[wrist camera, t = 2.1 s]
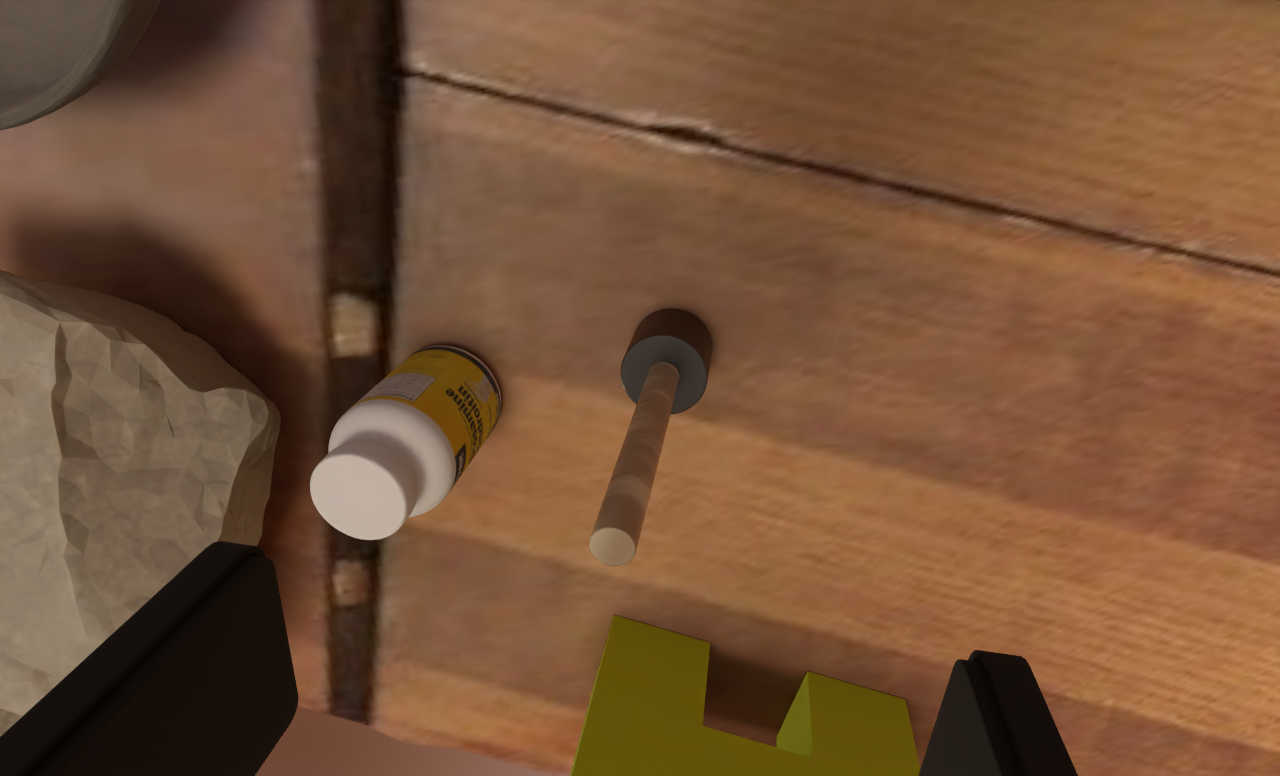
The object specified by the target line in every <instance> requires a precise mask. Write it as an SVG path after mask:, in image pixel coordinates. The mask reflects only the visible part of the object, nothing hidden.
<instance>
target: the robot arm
mask: <svg viewBox="0 0 1280 776" xmlns="http://www.w3.org/2000/svg"><path fill="white" fill-rule="evenodd" d="M297 705H298V691H297V686H296V680H295V675H294V670H293V664H292V659H291V653H290V648H289V643H288V637H287V632H286V626H285V621H284V615H283V610H282V605H281V599H280V594H279V588H278V583H277V577H276V572H275V567H274V564H273V562H272V561H271V560H270V559H267V558H266V557H265V554H264V551H263V550H262V549H261V548H260V547H257V546H252V545H245V544H238V543H232V542H225V541H217V542H213V543H212V544H210V545H209V546H208V547H206V548H205V549H204V550H203V551H202V552H201V553H200V554H199V555H198V556H197V557H195V558H194V559H193V560H192V561H191V562H190V563H189V564H188V565H187V566H186V567H185V568H183V569H182V570H181V571H180V572H179V573H178V574H177V575H176V576H175V577H174V578H173V579H172V580H170V581H169V582H168V583H167V584H166V585H165V586H164V587H163V588H162V589H161V590H160V591H158V592H157V593H156V594H155V595H154V596H153V597H152V598H151V599H150V600H149V601H148V602H146V603H145V604H144V605H143V606H142V607H141V608H140V609H139V610H138V611H137V612H136V613H134V614H133V615H132V616H131V617H130V618H129V619H128V620H127V621H126V622H125V623H124V624H123V625H121V626H120V627H119V628H118V629H117V630H116V631H115V632H114V633H113V634H112V635H111V636H109V637H108V638H107V639H106V640H105V641H104V642H103V643H102V644H101V645H100V646H99V647H97V648H96V649H95V650H94V651H93V652H92V653H91V654H90V655H89V656H88V657H87V658H86V659H84V660H83V661H82V662H81V663H80V664H79V665H78V666H77V667H76V668H75V669H74V670H72V671H71V672H70V673H69V674H68V675H67V676H66V677H65V678H64V679H63V680H62V681H60V682H59V683H58V684H57V685H56V686H55V687H54V688H53V689H52V690H51V691H50V692H49V693H47V694H46V695H45V696H44V697H43V698H42V699H41V700H40V701H39V702H38V703H37V704H35V705H34V706H33V707H32V708H31V709H30V710H29V711H28V712H27V713H26V714H25V715H23V716H22V717H21V718H20V719H19V720H18V721H17V722H16V723H15V724H14V725H13V726H12V727H10V728H9V729H8V730H7V731H6V732H5V733H4V734H3V735H2V736H1V737H0V776H255V774H256V773H257V772H258V770H259V769H260V767H261V765H262V764H263V763H264V761H265V760H266V758H267V757H268V755H269V754H270V753H271V751H272V750H273V748H274V747H275V745H276V744H277V742H278V741H279V739H280V738H281V736H282V735H283V734H284V732H285V731H286V729H287V728H288V726H289V725H290V723H291V721H292V720H293V717H294V715H295V712H296V708H297ZM919 776H1078V775H1077V773H1076V770H1075V768H1074V766H1073V764H1072V761H1071V759H1070V757H1069V754H1068V752H1067V750H1066V748H1065V745H1064V743H1063V741H1062V738H1061V736H1060V734H1059V732H1058V729H1057V727H1056V725H1055V723H1054V720H1053V718H1052V716H1051V713H1050V711H1049V709H1048V707H1047V704H1046V702H1045V700H1044V697H1043V695H1042V693H1041V691H1040V688H1039V686H1038V684H1037V682H1036V679H1035V677H1034V675H1033V672H1032V670H1031V668H1030V666H1029V664H1028V662H1027V661H1026V659H1024V658H1023V657H1022V656H1015V655H1008V654H1001V653H994V652H987V651H980V650H975V651H974V652H973V653H972V654H971V655H970V657H969V660H961V659H960V660H957V661H956V662H955V665H954V667H953V670H952V673H951V676H950V679H949V682H948V686H947V689H946V692H945V695H944V698H943V701H942V704H941V707H940V710H939V714H938V717H937V720H936V723H935V726H934V729H933V732H932V735H931V738H930V742H929V745H928V748H927V751H926V754H925V757H924V760H923V763H922V766H921V770H920V773H919Z"/></svg>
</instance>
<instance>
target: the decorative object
mask: <svg viewBox="0 0 1280 776" xmlns="http://www.w3.org/2000/svg"><path fill="white" fill-rule="evenodd" d="M709 651H710V643H709V642H706V641H702V640H699V639H695V638H692V637H688V636H685V635H682V634H678V633H675V632H671V631H668V630H664V629H661V628H657V627H654V626H651V625H647V624H644V623H640V622H637V621H633V620H630V619H626V618H623V617H620V616H616V615H614V616H613V620H612V623H611V627H610V630H609V634H608V637H607V641H606V644H605V648H604V651H603V655H602V658H601V662H600V665H599V669H598V672H597V676H596V679H595V683H594V686H593V690H592V694H591V698H590V701H589V705H588V709H587V713H586V716H585V720H584V724H583V728H582V732H581V735H580V739H579V743H578V747H577V751H576V754H575V758H574V762H573V766H572V769H571V773H570V776H919V773H920V766H919V761H918V756H917V752H916V747H915V742H914V737H913V732H912V728H911V723H910V718H909V713H908V708H907V704H906V700H905V699H902V698H899V697H895V696H892V695H888V694H885V693H881V692H878V691H874V690H871V689H868V688H864V687H861V686H857V685H854V684H850V683H847V682H843V681H840V680H837V679H833V678H830V677H826V676H823V675H819V674H816V673H812V672H809V671H807V673H806V675H805V677H804V680H803V682H802V684H801V686H800V688H799V690H798V692H797V695H796V697H795V699H794V701H793V703H792V705H791V707H790V709H789V712H788V714H787V716H786V718H785V720H784V722H783V724H782V727H781V729H780V731H779V733H778V735H777V748H776V747H773V746H770V745H766V744H763V743H759V742H756V741H753V740H749V739H746V738H742V737H739V736H736V735H732V734H729V733H725V732H722V731H719V730H715V729H712V728H709V727H705V726H703V716H704V705H705V694H706V684H707V673H708V662H709Z"/></svg>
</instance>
